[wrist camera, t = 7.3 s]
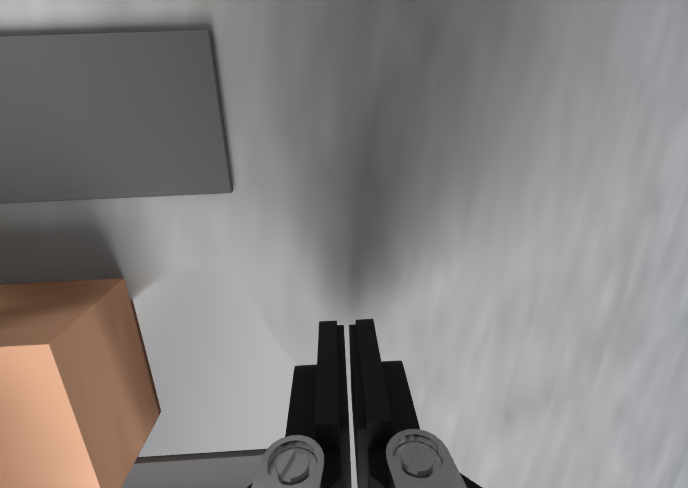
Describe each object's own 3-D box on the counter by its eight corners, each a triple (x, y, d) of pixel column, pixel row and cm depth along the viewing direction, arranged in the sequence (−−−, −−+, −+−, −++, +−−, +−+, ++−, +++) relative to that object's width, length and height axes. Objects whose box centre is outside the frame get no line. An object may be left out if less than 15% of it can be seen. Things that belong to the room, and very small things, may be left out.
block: (126, 276, 13) (49, 344, 10) (161, 411, 15) (108, 511, 12) (-52, 284, 13) (-202, 357, 9) (8, 420, 15) (-96, 524, 12)
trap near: (210, 31, 11) (207, 29, 10) (233, 190, 12) (230, 193, 12) (-49, 40, 10) (-59, 38, 10) (8, 200, 12) (0, 203, 12)
